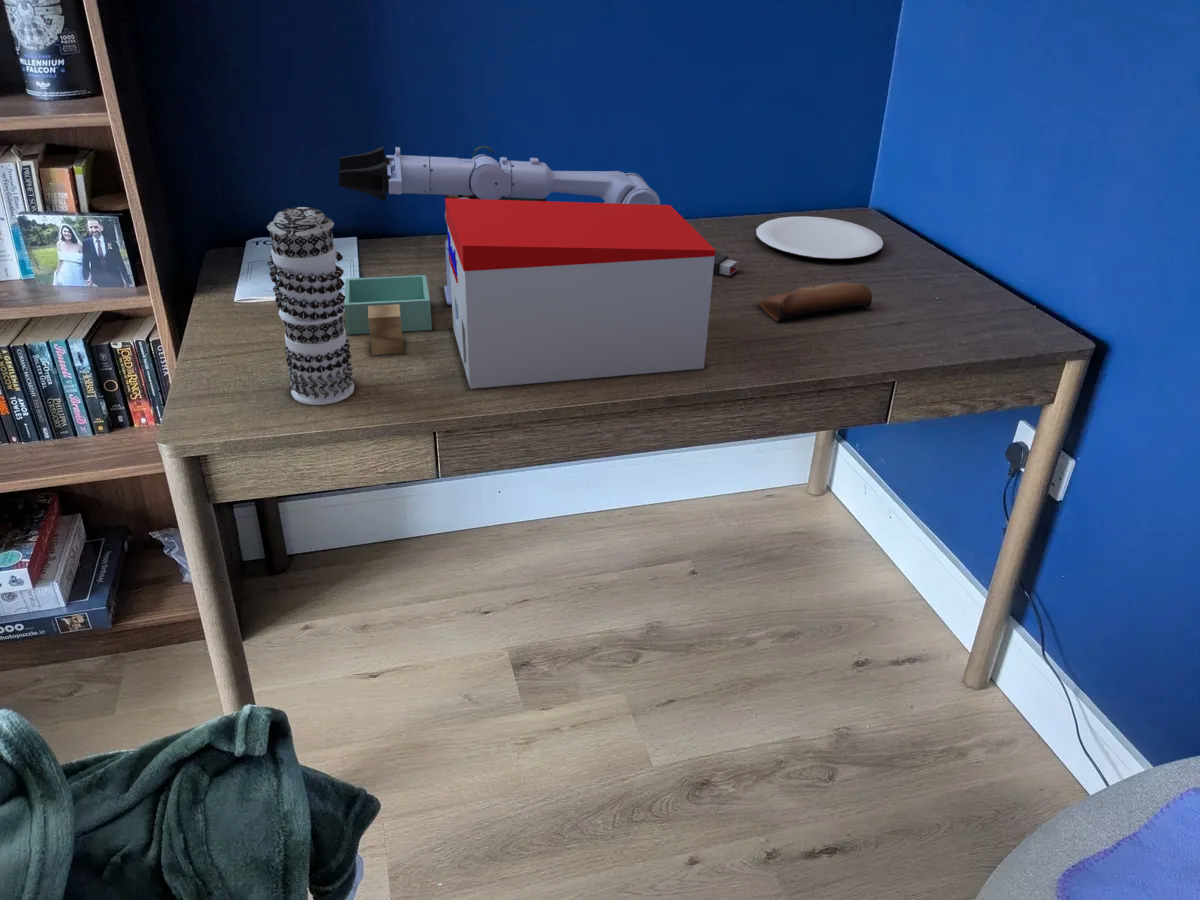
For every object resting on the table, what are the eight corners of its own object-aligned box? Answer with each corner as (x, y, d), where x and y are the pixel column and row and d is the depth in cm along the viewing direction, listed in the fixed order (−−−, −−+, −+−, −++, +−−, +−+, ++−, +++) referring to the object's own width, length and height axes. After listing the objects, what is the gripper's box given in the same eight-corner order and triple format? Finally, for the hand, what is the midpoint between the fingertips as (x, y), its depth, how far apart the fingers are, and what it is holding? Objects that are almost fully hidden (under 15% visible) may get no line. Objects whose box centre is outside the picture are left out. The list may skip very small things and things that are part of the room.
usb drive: (681, 256, 182) (682, 242, 180) (738, 270, 177) (740, 256, 175) (668, 264, 178) (669, 250, 176) (726, 278, 173) (728, 264, 171)
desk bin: (428, 303, 159) (426, 274, 157) (432, 329, 150) (429, 300, 147) (348, 307, 157) (345, 278, 154) (347, 334, 148) (344, 304, 145)
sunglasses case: (842, 288, 168) (859, 264, 163) (859, 320, 166) (877, 297, 160) (754, 302, 162) (769, 277, 157) (770, 335, 159) (786, 311, 154)
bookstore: (450, 329, 151) (443, 198, 140) (662, 313, 158) (671, 188, 147) (467, 389, 133) (460, 245, 123) (704, 368, 141) (717, 231, 130)
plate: (880, 230, 199) (882, 222, 198) (883, 271, 178) (885, 263, 177) (760, 218, 203) (761, 210, 202) (749, 257, 182) (750, 249, 182)
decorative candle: (302, 372, 136) (276, 199, 123) (366, 377, 136) (346, 204, 123) (277, 403, 128) (247, 222, 115) (344, 408, 128) (321, 226, 115)
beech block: (402, 340, 146) (399, 304, 143) (403, 353, 143) (400, 316, 140) (371, 342, 146) (368, 305, 142) (372, 355, 142) (368, 318, 139)
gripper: (426, 138, 154) (339, 133, 151) (431, 162, 142) (337, 157, 139) (425, 181, 158) (340, 178, 155) (431, 208, 146) (339, 205, 143)
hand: (339, 171), depth 147 cm, fingers open, 7 cm apart
